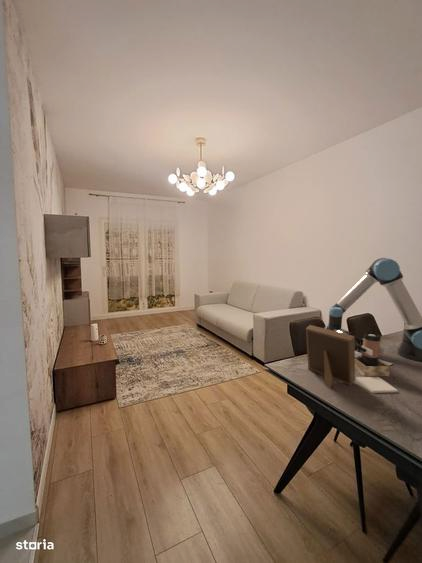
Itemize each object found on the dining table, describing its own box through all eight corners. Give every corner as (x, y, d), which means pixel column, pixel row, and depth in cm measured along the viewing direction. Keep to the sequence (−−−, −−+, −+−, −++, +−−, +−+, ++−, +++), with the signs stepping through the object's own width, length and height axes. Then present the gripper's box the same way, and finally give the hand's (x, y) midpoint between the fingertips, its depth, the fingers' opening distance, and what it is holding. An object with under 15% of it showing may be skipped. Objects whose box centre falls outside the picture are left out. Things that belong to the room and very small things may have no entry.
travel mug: (379, 374, 133) (383, 337, 130) (363, 372, 135) (367, 336, 132) (373, 367, 140) (377, 332, 138) (358, 366, 142) (361, 331, 139)
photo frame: (312, 366, 141) (315, 322, 137) (354, 382, 125) (359, 333, 121) (297, 375, 131) (300, 328, 128) (341, 394, 115) (346, 341, 111)
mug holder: (371, 364, 144) (372, 356, 144) (389, 376, 132) (390, 366, 131) (349, 364, 144) (350, 356, 143) (364, 376, 131) (365, 367, 130)
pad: (378, 378, 129) (378, 376, 128) (397, 392, 117) (397, 390, 117) (355, 379, 128) (355, 377, 128) (372, 392, 116) (372, 390, 116)
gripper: (359, 341, 156) (393, 357, 134) (330, 344, 151) (361, 361, 129) (360, 330, 155) (395, 344, 133) (331, 332, 150) (362, 347, 128)
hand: (378, 352), depth 131 cm, fingers closed on travel mug, 7 cm apart
